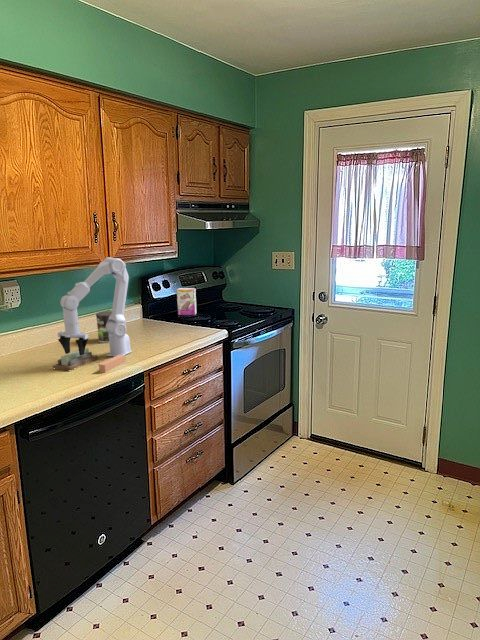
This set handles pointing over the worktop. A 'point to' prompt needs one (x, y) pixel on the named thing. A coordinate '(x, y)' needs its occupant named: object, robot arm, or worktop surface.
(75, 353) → the block
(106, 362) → the bar
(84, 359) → the cradle
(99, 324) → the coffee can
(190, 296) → the candy bar box
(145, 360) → the worktop surface
